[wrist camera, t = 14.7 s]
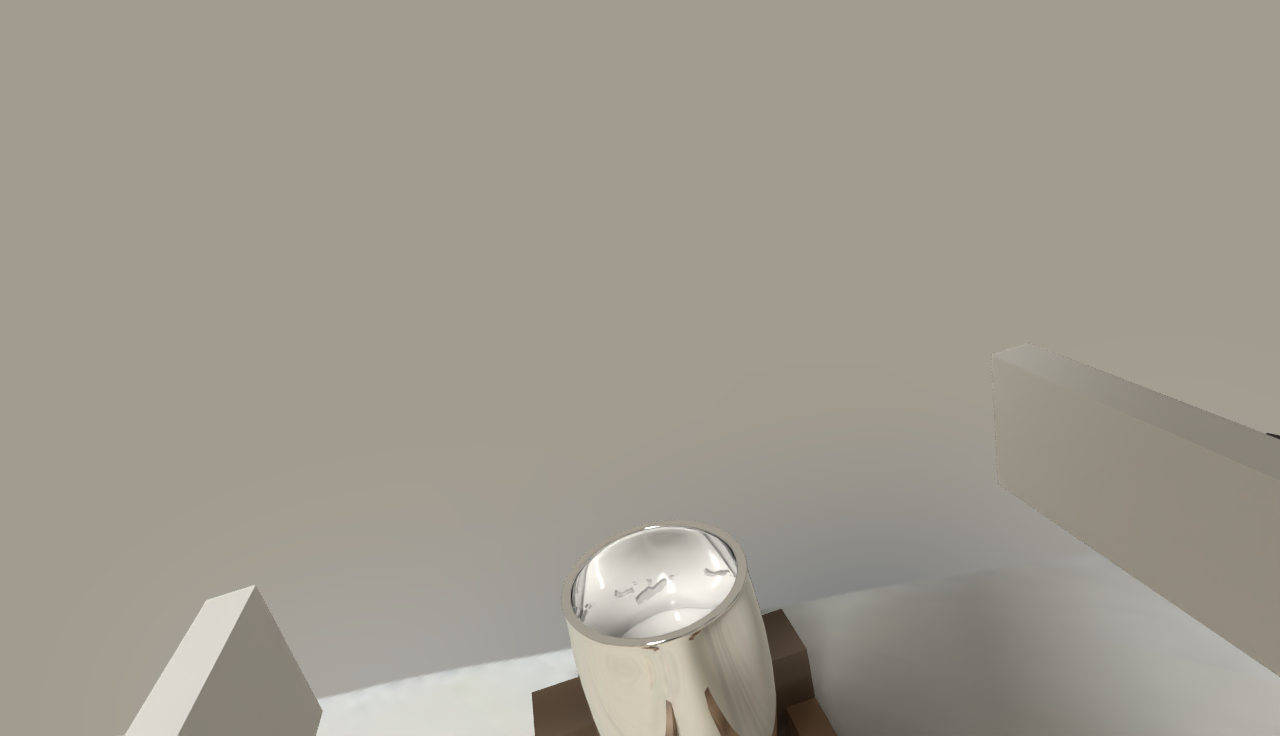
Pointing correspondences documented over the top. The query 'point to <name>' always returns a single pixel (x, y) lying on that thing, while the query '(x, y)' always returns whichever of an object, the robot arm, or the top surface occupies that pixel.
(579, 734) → the brown u-shaped block
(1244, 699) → the top surface
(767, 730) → the metal tumbler
